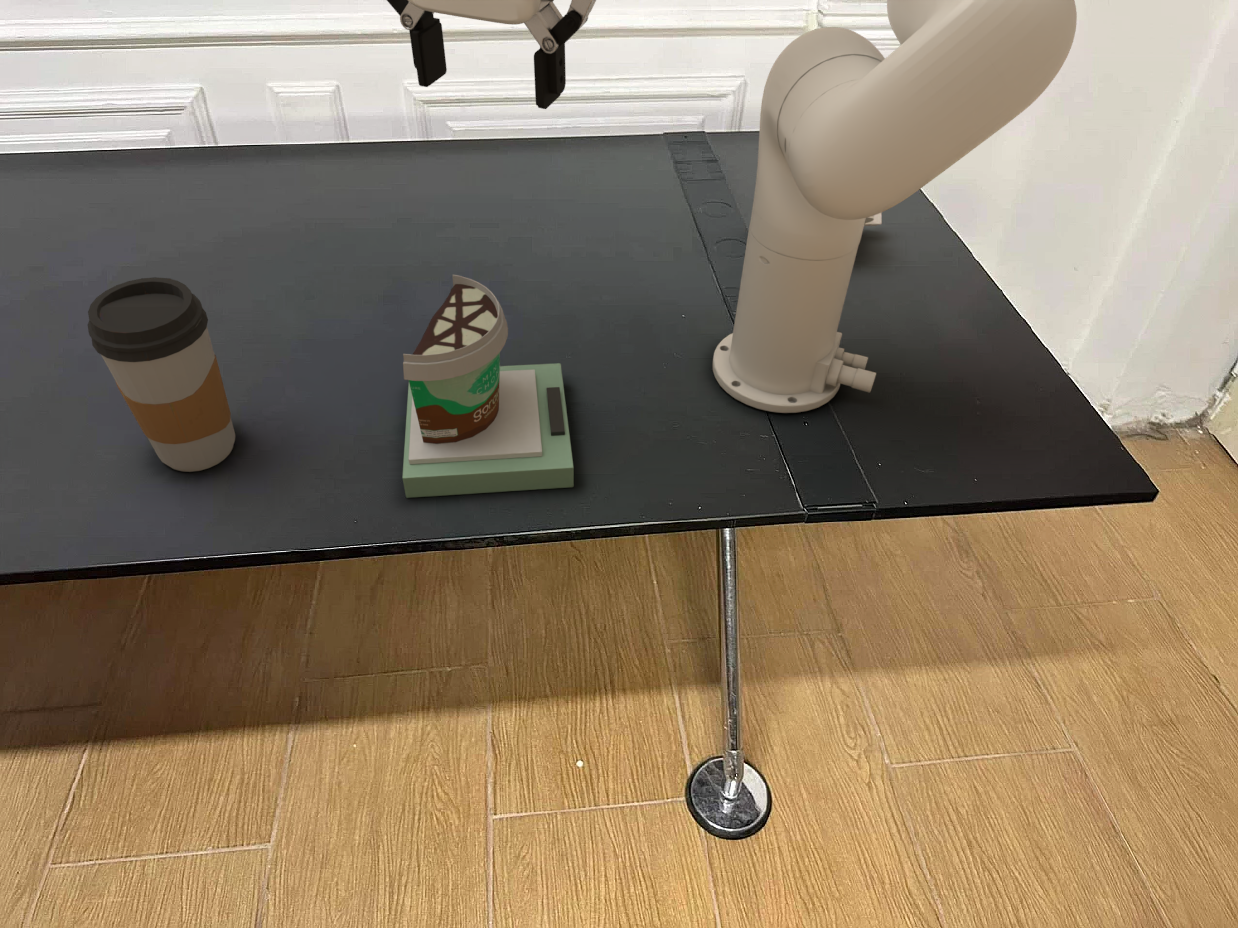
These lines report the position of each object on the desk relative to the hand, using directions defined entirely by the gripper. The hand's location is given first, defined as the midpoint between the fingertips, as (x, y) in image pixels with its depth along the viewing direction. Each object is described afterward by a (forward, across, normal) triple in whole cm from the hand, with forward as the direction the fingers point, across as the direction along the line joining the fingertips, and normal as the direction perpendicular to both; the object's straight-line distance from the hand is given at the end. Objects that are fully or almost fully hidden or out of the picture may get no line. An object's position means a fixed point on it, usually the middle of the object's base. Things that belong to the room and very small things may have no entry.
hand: (490, 90), depth 68 cm
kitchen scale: (+27, +2, -8) cm, 29 cm away
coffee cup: (+27, -21, -20) cm, 40 cm away
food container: (+25, +1, -9) cm, 26 cm away
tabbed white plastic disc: (+28, +22, +36) cm, 51 cm away
